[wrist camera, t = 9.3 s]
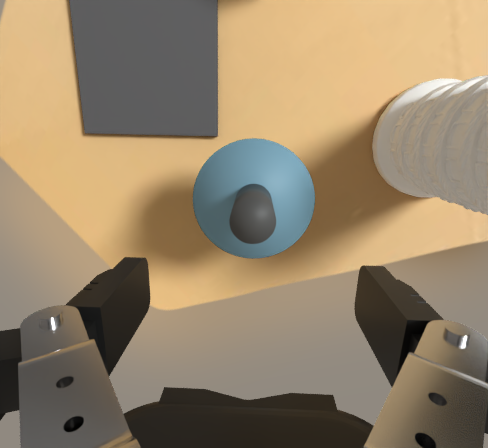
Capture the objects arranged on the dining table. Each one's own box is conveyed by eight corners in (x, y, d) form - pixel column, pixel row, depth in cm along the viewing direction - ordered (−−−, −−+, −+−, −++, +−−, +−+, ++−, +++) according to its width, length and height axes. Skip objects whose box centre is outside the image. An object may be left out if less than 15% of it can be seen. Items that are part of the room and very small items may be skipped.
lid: (193, 137, 26) (170, 140, 19) (316, 139, 26) (339, 142, 19) (197, 252, 29) (178, 290, 22) (308, 254, 28) (325, 294, 21)
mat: (70, -21, 30) (66, -24, 29) (217, -20, 30) (216, -23, 29) (87, 133, 34) (84, 133, 33) (217, 136, 34) (217, 136, 33)
